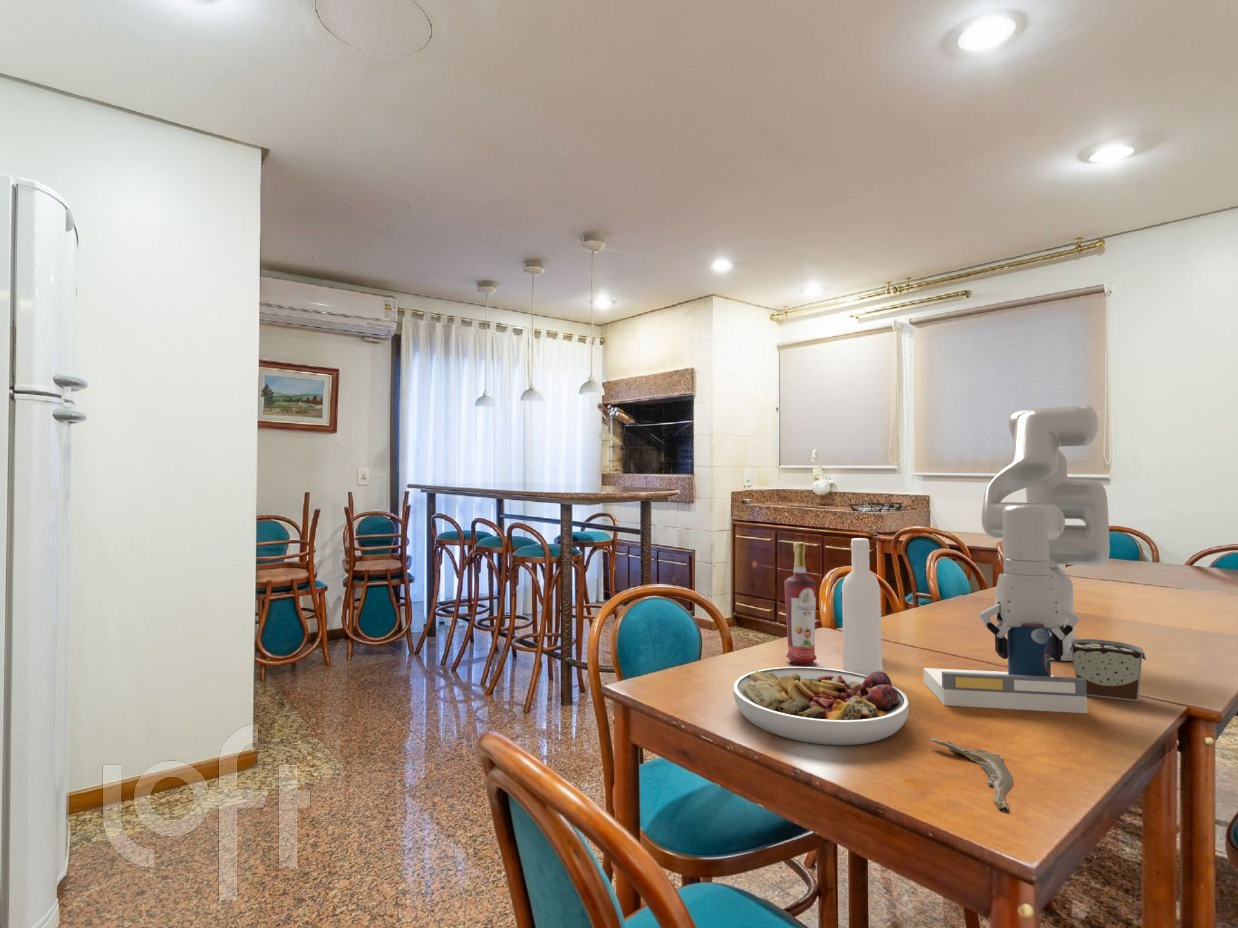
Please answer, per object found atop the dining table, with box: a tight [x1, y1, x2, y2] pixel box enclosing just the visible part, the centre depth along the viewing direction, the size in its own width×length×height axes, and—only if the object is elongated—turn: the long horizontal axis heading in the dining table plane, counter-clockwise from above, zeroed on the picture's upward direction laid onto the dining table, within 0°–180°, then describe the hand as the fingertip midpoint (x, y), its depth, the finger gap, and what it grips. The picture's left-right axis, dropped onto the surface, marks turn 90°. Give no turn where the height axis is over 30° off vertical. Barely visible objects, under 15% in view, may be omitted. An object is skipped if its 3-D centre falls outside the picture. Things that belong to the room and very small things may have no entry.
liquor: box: [783, 542, 817, 666], centre depth 149 cm, size 7×7×28 cm
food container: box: [1068, 638, 1147, 702], centre depth 126 cm, size 12×6×10 cm, turn 65°
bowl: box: [733, 666, 910, 746], centre depth 114 cm, size 30×30×8 cm
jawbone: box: [929, 737, 1014, 813], centre depth 91 cm, size 9×20×2 cm, turn 178°
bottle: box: [841, 537, 884, 676], centre depth 137 cm, size 8×8×30 cm
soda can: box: [1006, 624, 1052, 677], centre depth 122 cm, size 7×7×12 cm
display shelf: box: [923, 667, 1088, 714], centre depth 124 cm, size 24×14×6 cm, turn 79°
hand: (1028, 657), depth 122 cm, fingers open, 8 cm apart
